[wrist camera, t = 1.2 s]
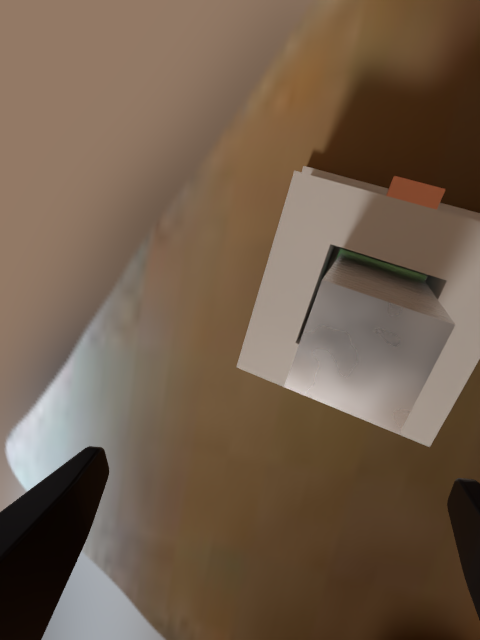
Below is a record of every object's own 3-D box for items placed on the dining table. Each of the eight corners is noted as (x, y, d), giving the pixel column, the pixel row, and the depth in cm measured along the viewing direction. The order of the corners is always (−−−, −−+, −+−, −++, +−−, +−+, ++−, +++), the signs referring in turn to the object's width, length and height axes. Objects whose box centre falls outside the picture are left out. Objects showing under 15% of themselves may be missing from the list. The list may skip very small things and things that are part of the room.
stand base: (523, 219, 18) (573, 222, 14) (423, 408, 22) (435, 459, 18) (307, 161, 21) (289, 148, 16) (252, 341, 25) (225, 371, 20)
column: (422, 271, 19) (463, 322, 11) (389, 344, 21) (401, 440, 12) (342, 245, 20) (319, 273, 12) (316, 317, 22) (278, 388, 13)
